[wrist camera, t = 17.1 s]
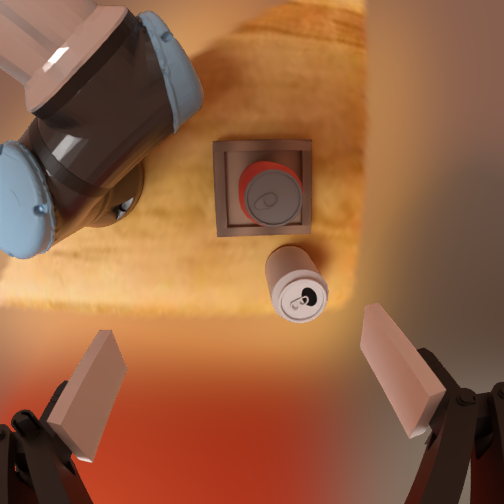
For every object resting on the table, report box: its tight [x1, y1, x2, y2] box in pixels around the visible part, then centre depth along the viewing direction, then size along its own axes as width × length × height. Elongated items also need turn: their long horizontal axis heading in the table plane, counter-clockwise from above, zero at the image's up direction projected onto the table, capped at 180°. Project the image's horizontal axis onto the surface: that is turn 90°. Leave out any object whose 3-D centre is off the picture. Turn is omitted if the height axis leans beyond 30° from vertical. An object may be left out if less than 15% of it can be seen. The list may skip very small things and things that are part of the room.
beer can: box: [238, 161, 304, 228], centre depth 32 cm, size 7×7×12 cm
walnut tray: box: [213, 139, 312, 237], centre depth 40 cm, size 13×13×5 cm
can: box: [265, 246, 329, 323], centre depth 41 cm, size 8×8×12 cm
